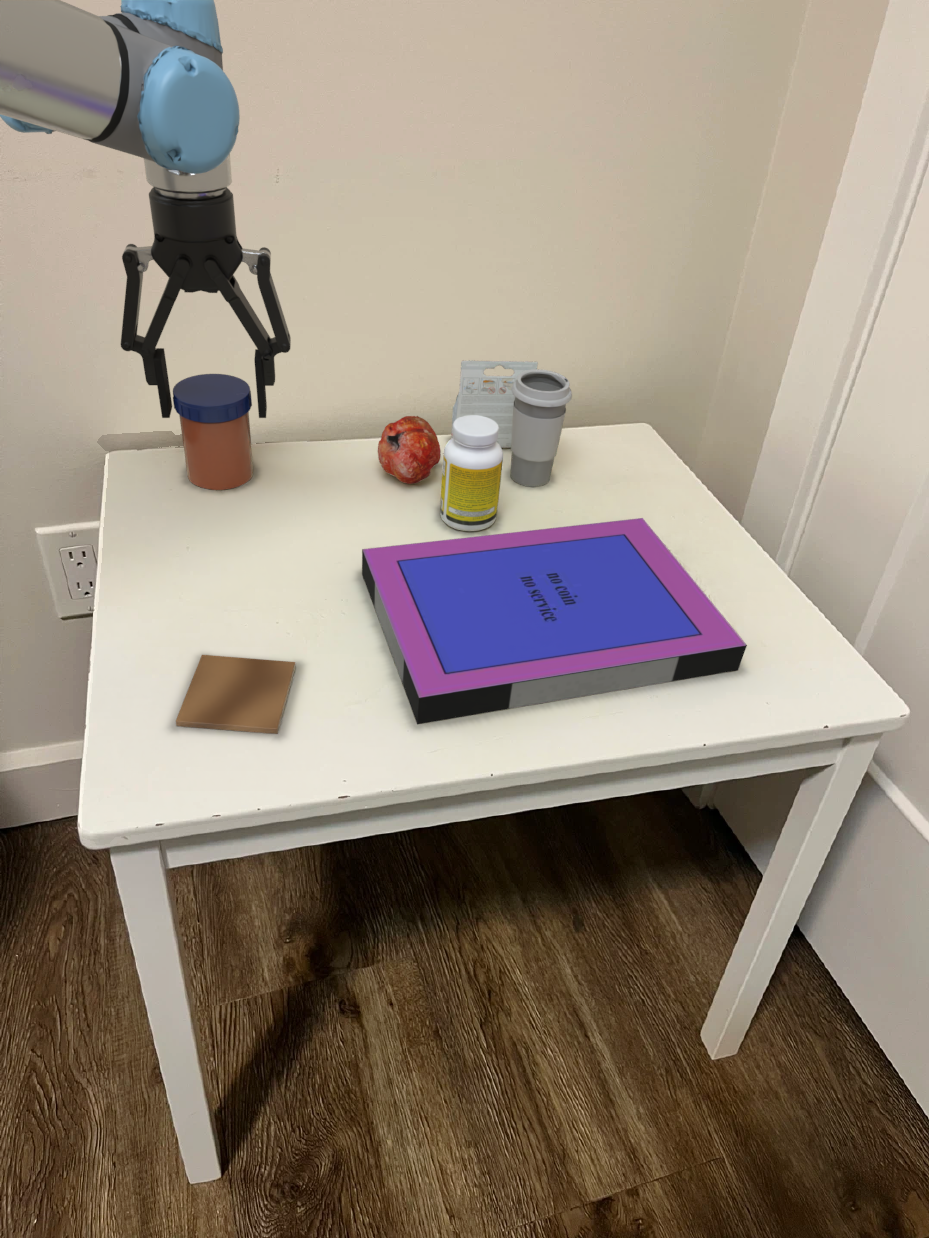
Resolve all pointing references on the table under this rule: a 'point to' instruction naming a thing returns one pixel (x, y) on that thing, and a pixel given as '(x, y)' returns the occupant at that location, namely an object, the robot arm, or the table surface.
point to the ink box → (489, 394)
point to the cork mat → (237, 694)
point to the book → (542, 617)
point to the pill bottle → (471, 474)
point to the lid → (212, 398)
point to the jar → (218, 453)
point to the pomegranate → (409, 449)
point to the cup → (537, 424)
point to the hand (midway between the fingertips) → (215, 412)
